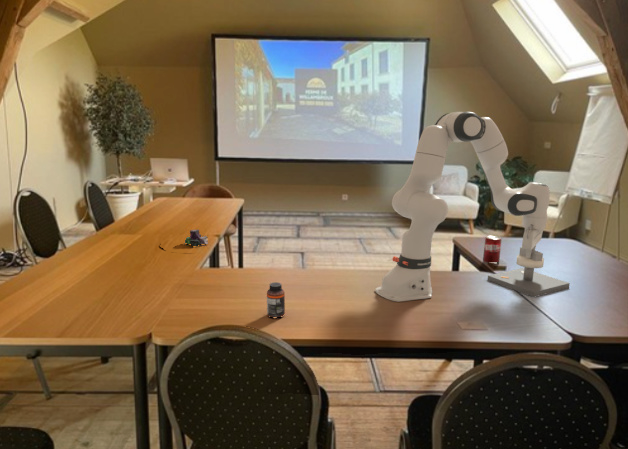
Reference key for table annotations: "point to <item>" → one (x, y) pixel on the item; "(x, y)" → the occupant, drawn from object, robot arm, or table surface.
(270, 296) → the supplement bottle
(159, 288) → the table surface
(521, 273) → the lock base
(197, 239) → the mineral sample
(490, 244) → the soda can
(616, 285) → the table surface
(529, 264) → the cap
